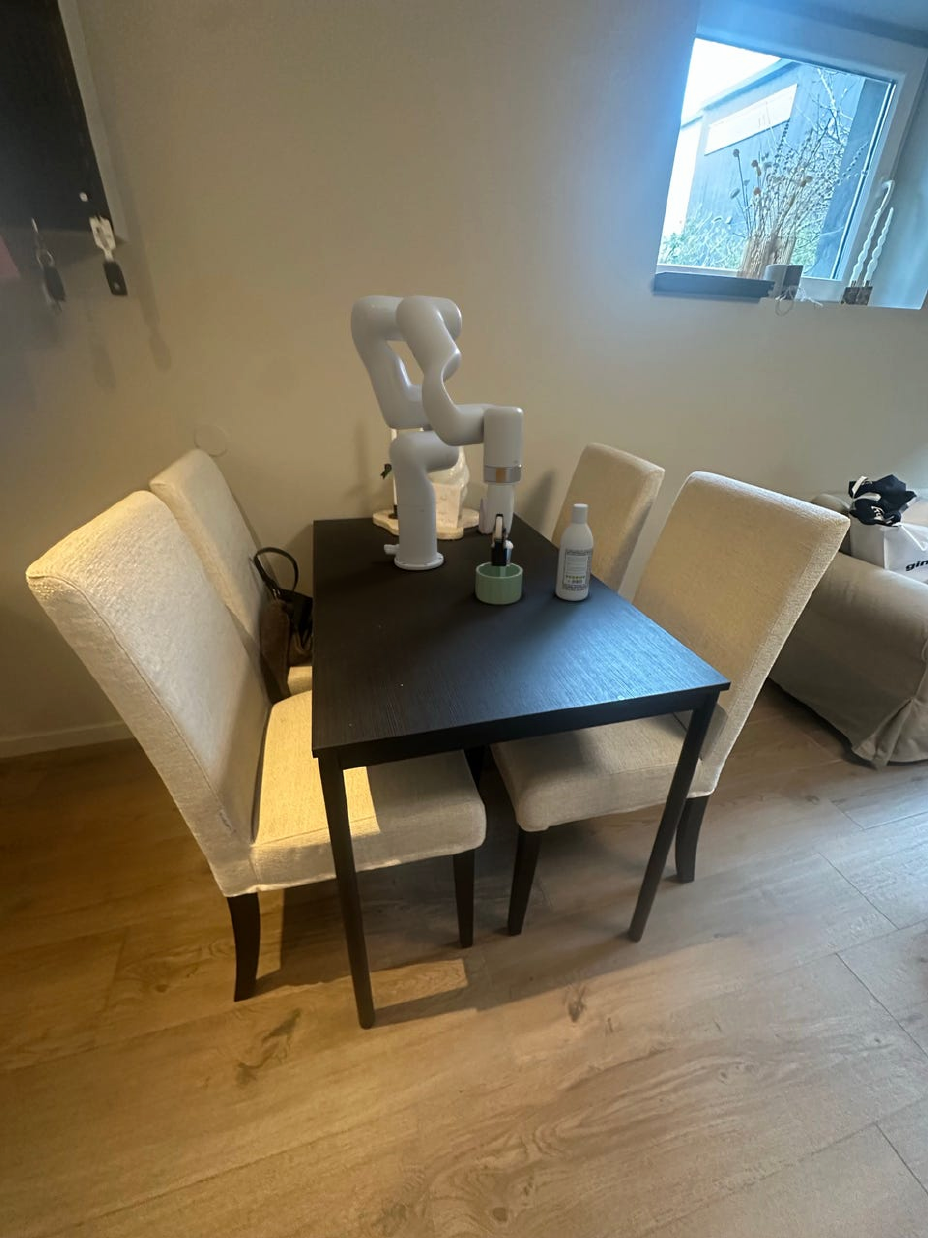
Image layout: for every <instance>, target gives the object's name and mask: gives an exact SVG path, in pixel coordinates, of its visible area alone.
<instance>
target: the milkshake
mask: <svg viewBox="0 0 928 1238" xmlns="http://www.w3.org/2000/svg"><path fill="white" fill-rule="evenodd" d="M487 539H488V541H489V542H491V540H490V538H489V537H487ZM507 540H508V539H506V548H507V565H506V566H505V567H501V566H493V574H494V577H509V575H510V566H511V563H512V558H513V549H514V545H513V543H512V541H510V540H509V541H507ZM490 546H491V547H492V544H490Z"/></svg>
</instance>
